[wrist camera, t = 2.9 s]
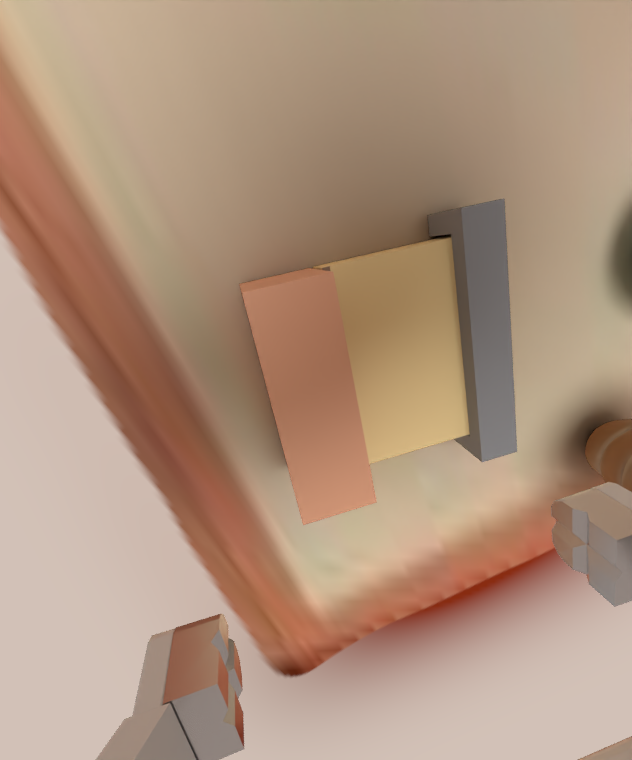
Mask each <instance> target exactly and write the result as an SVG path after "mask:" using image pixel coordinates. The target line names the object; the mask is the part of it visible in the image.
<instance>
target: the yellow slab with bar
mask: <svg viewBox="0 0 632 760" xmlns="http://www.w3.org/2000/svg"><path fill="white" fill-rule="evenodd" d="M427 216H428V225H429V234H430V236H439V235H448V234H451V235H449V236H445V237H441V238H436V239H432V240H428V241H423V242H419V243H414V244H410V245H406V246H401V247H397V248H393V249H388V250H384V251H380V252H375V253H371V254H366V255H362V256H358V257H353V258H349V259H345V260H340V261H336V262H332V263H327V264H323V265H319V266H314V267H313V269H318V270H325V271H332V272H333V273H334V279H335V284H336V289H337V295H338V300H339V305H340V311H341V316H342V321H343V327H344V332H345V337H346V343H347V348H348V353H349V358H350V364H351V369H352V374H353V380H354V385H355V390H356V396H357V401H358V406H359V412H360V417H361V422H362V428H363V433H364V438H365V443H366V449H367V454H368V459H369V464H371V463H375V462H378V461H381V460H385V459H388V458H391V457H395V456H398V455H401V454H405V453H408V452H412V451H415V450H418V449H422V448H425V447H428V446H432V445H435V444H438V443H442V442H445V441H449V440H452V439H454V440H456V441H457V442H458V443H459V444H461V445H462V446H463V447H464V448H465V449H467V450H468V451H469V452H470V453H472V454H473V455H474V456H475V457H476V458H478V459H479V460H480V461H481V462H484V461H488V460H491V459H494V458H497V457H501V456H504V455H507V454H510V453H514V452H517V440H516V420H515V400H514V380H513V360H512V340H511V321H510V301H509V281H508V261H507V241H506V221H505V201H504V199H499V200H495V201H490V202H485V203H481V204H476V205H471V206H467V207H462V208H457V209H453V210H448V211H444V212H439V213H435V214H430V215H427Z"/></svg>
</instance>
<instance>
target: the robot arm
mask: <svg viewBox="0 0 632 760" xmlns="http://www.w3.org/2000/svg"><path fill="white" fill-rule="evenodd" d="M551 515H552V516H553V517H554V518H555V519H556V520H557V522H556V524H555V526H554V527H553V529H552V539H553V544H554V546H555V548H556V550H557V552H558V554H559V555H560V557H561V558H562V559H563V561H564V562H565V563H566V564H567V565H568V566H570V567H571V568H572V569H573V570H575V571H578V572H581V573H584V574H587V578H588V582H589V584H590V585H591V586H592V587H593V588H594V589H595V590H596V591H597V592H599V593H600V594H601V595H602V596H603V597H604V598H605V599H607V600H608V601H609V602H610V603H611V604H612V605H613V606H618V605H621V604H624V603H627V602H629V601H632V492H631V491H629V490H627V489H625V488H623V487H622V486H620V485H618V484H616V483H612V482H607V483H604V484H602V485H599V486H596V487H593V488H591V489H588V490H585V491H582V492H579V493H576V494H573V495H570V496H568V497H565V498H562V499H559V500H556V501H554V502H553V504H552V506H551ZM241 692H242V674H241V667H240V660H239V656H238V652H237V649H236V646H235V643H234V641H233V640H231V639H229V638H228V624H227V622H226V619H225V617H224V615H223V614H218V615H215V616H212V617H209V618H206V619H203V620H199V621H196V622H193V623H189V624H187V625H183V626H180V627H176V628H175V629H172V630H169V631H166V632H162V633H159V634H155V635H153V636H152V637H151V639H150V641H149V642H148V645H147V650H146V654H145V660H144V664H143V669H142V673H141V678H140V683H139V688H138V692H137V697H136V701H135V706H134V711H133V715H132V717H129V718H126V719H124V721H123V722H122V724H121V725H120V726H119V728H118V729H117V731H116V732H115V733H114V735H113V736H112V738H111V739H110V740H109V742H108V743H107V745H106V746H105V747H104V749H103V750H102V752H101V753H100V755H99V756H98V757H97V759H96V760H219V759H222V758H224V757H226V756H228V755H231V754H234V753H236V752H238V751H241V750H243V749H244V724H243V711H242V708H241V705H240V703H239V700H238V698H239V696H240V694H241ZM578 760H632V736H631V737H629V738H626V739H624V740H622V741H620V742H617V743H615V744H613V745H610V746H608V747H606V748H603V749H601V750H599V751H597V752H594V753H592V754H590V755H587V756H585V757H583V758H580V759H578Z"/></svg>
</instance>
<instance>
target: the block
mask: <svg viewBox="0 0 632 760" xmlns="http://www.w3.org/2000/svg"><path fill="white" fill-rule="evenodd" d="M239 285H240V289H241V293H242V296H243V300H244V304H245V308H246V311H247V315H248V319H249V323H250V326H251V330H252V334H253V338H254V342H255V345H256V349H257V353H258V357H259V360H260V364H261V368H262V372H263V376H264V379H265V383H266V387H267V391H268V394H269V398H270V402H271V406H272V410H273V413H274V417H275V421H276V425H277V428H278V432H279V436H280V440H281V444H282V447H283V451H284V455H285V459H286V462H287V466H288V470H289V474H290V477H291V481H292V485H293V489H294V492H295V496H296V500H297V503H298V507H299V511H300V515H301V518H302V522H303V525H305V524H308V523H311V522H315V521H318V520H321V519H324V518H328V517H331V516H334V515H337V514H340V513H344V512H347V511H350V510H353V509H357V508H360V507H363V506H366V505H369V504H373V503H376V497H375V491H374V486H373V481H372V475H371V470H370V465H369V459H368V454H367V449H366V443H365V438H364V433H363V428H362V422H361V417H360V412H359V406H358V401H357V396H356V390H355V385H354V380H353V374H352V369H351V364H350V358H349V353H348V348H347V343H346V337H345V332H344V327H343V321H342V316H341V311H340V305H339V300H338V295H337V289H336V284H335V279H334V273H333V272H332V271H325V270H318V269H311V268H306V269H302V270H298V271H293V272H289V273H285V274H280V275H276V276H272V277H267V278H263V279H259V280H254V281H250V282H245V283H241V284H239Z"/></svg>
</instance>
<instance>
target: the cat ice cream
mask: <svg viewBox="0 0 632 760" xmlns="http://www.w3.org/2000/svg"><path fill="white" fill-rule="evenodd" d="M585 455H586V459H587V461H588V463H589V465H590V466H591V467H592V468H593V469H594V470H595V471H596V472H597V473H599V474H600V475H602V477H603V479H604V481H605V483H607V482H612V483H616V484H618V485H620V486H622V487H623V488H625V489H627V490H629V491H631V492H632V419H625V420H616V421H611V422H608V423H605V424H603V425H601V426H599V427H598V428H597V429H595V430H594V432H593V433H592V434H591V435H590V437H589V439H588V441H587V443H586V449H585Z"/></svg>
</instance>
